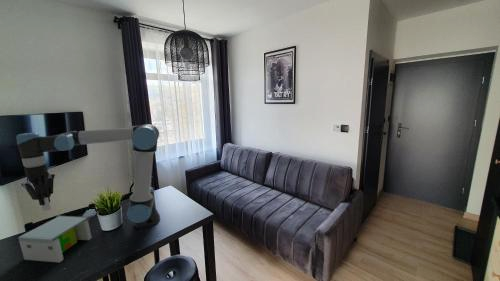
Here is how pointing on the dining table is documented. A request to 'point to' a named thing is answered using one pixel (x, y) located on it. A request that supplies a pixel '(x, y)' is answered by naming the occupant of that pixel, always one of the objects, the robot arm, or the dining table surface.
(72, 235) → the puzzle toy
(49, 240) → the lid
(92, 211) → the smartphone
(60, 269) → the dining table surface
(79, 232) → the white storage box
